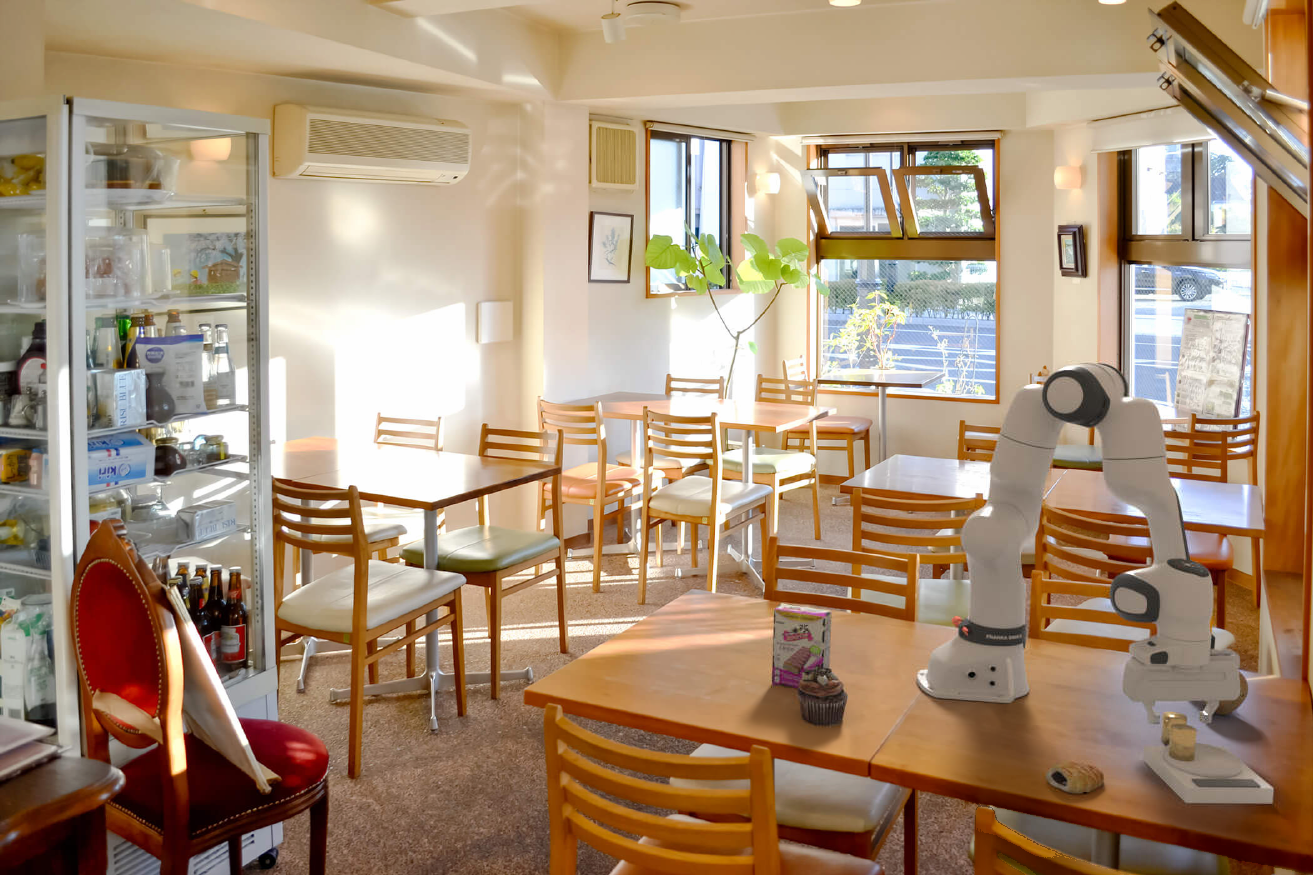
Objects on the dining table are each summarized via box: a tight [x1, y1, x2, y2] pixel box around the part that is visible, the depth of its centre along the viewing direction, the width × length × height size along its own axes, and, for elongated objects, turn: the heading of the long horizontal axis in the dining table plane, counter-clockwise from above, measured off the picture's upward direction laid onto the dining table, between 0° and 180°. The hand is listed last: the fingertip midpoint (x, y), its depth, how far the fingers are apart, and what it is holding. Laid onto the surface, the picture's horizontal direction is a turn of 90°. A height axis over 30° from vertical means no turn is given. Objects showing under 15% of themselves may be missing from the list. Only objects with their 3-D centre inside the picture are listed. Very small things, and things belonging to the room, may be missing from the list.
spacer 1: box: [1160, 711, 1188, 746], centre depth 202 cm, size 4×4×5 cm
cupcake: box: [796, 665, 849, 727], centre depth 211 cm, size 10×10×10 cm
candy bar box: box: [771, 603, 832, 689], centre depth 228 cm, size 11×5×16 cm, turn 65°
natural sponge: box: [1201, 669, 1249, 716], centre depth 214 cm, size 9×9×10 cm
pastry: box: [1045, 761, 1105, 795], centre depth 185 cm, size 9×7×4 cm
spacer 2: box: [1169, 724, 1197, 762], centre depth 187 cm, size 4×4×5 cm
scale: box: [1142, 742, 1274, 805], centre depth 186 cm, size 14×16×4 cm
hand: (1179, 722), depth 202 cm, fingers open, 8 cm apart
